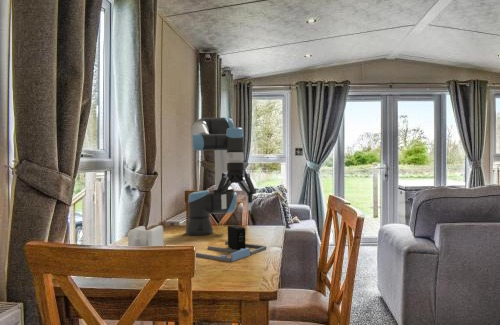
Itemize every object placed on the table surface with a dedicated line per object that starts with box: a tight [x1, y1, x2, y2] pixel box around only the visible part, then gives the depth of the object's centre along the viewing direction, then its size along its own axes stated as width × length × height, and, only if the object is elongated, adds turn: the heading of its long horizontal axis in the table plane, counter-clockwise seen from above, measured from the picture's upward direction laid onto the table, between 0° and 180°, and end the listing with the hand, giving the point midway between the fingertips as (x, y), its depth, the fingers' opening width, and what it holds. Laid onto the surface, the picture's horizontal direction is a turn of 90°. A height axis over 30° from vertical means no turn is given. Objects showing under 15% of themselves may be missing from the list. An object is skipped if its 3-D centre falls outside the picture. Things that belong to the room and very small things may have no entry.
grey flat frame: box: [195, 240, 267, 263], centre depth 168 cm, size 27×23×3 cm
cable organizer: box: [126, 225, 164, 247], centre depth 165 cm, size 15×11×12 cm
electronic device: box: [227, 224, 247, 250], centre depth 174 cm, size 4×10×10 cm, turn 27°
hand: (236, 209), depth 174 cm, fingers open, 13 cm apart
